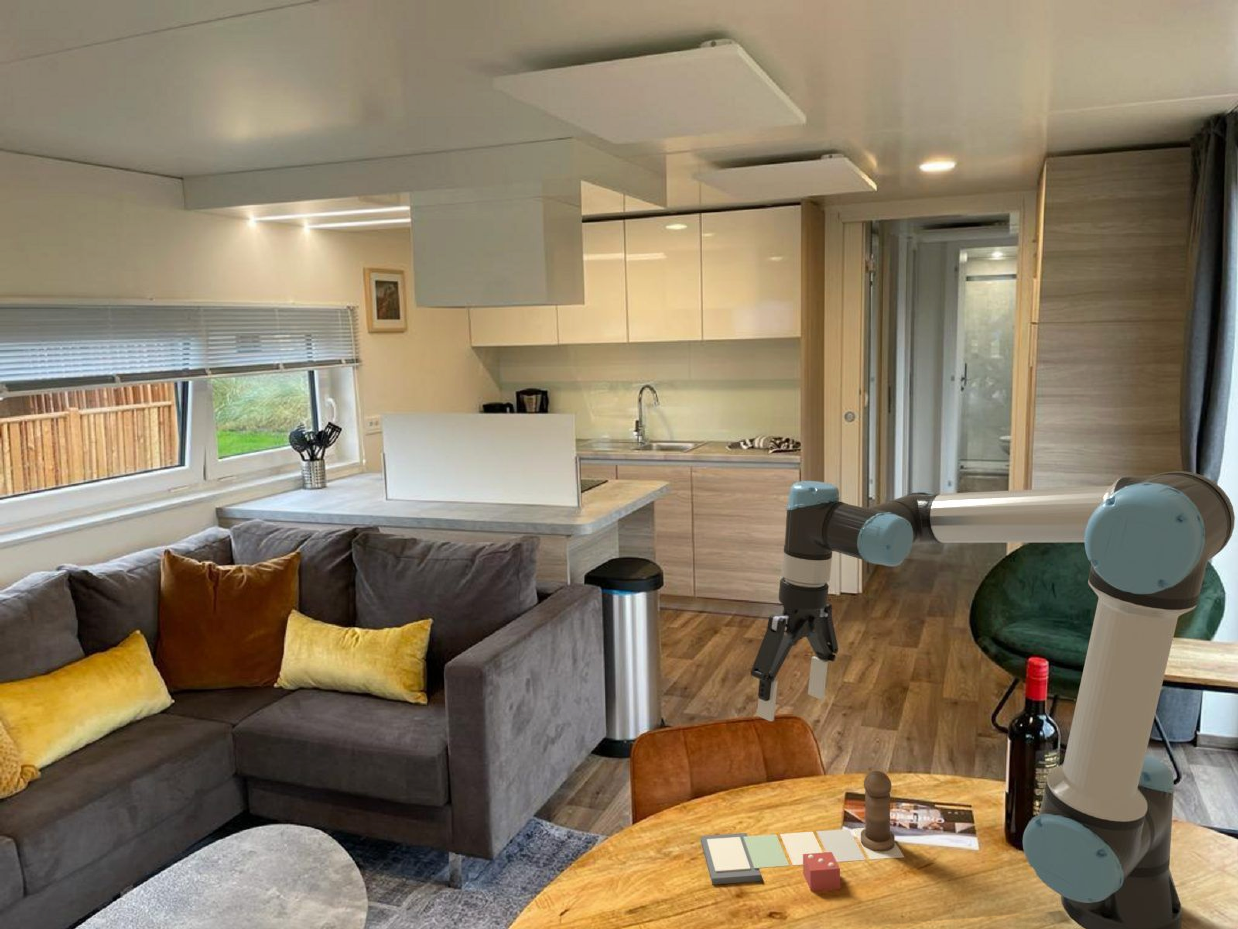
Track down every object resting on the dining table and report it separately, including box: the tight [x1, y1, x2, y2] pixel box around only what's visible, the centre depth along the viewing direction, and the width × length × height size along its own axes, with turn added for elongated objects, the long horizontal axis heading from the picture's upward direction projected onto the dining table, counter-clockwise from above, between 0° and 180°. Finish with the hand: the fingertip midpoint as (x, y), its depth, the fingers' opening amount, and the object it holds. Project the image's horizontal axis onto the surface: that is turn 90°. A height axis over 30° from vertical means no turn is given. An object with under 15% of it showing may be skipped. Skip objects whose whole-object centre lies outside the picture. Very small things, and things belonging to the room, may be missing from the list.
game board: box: [700, 827, 905, 886], centre depth 152 cm, size 12×31×1 cm, turn 93°
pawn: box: [860, 770, 896, 852], centre depth 152 cm, size 5×5×12 cm
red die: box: [802, 851, 841, 892], centre depth 143 cm, size 4×4×5 cm
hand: (791, 707), depth 154 cm, fingers open, 13 cm apart
